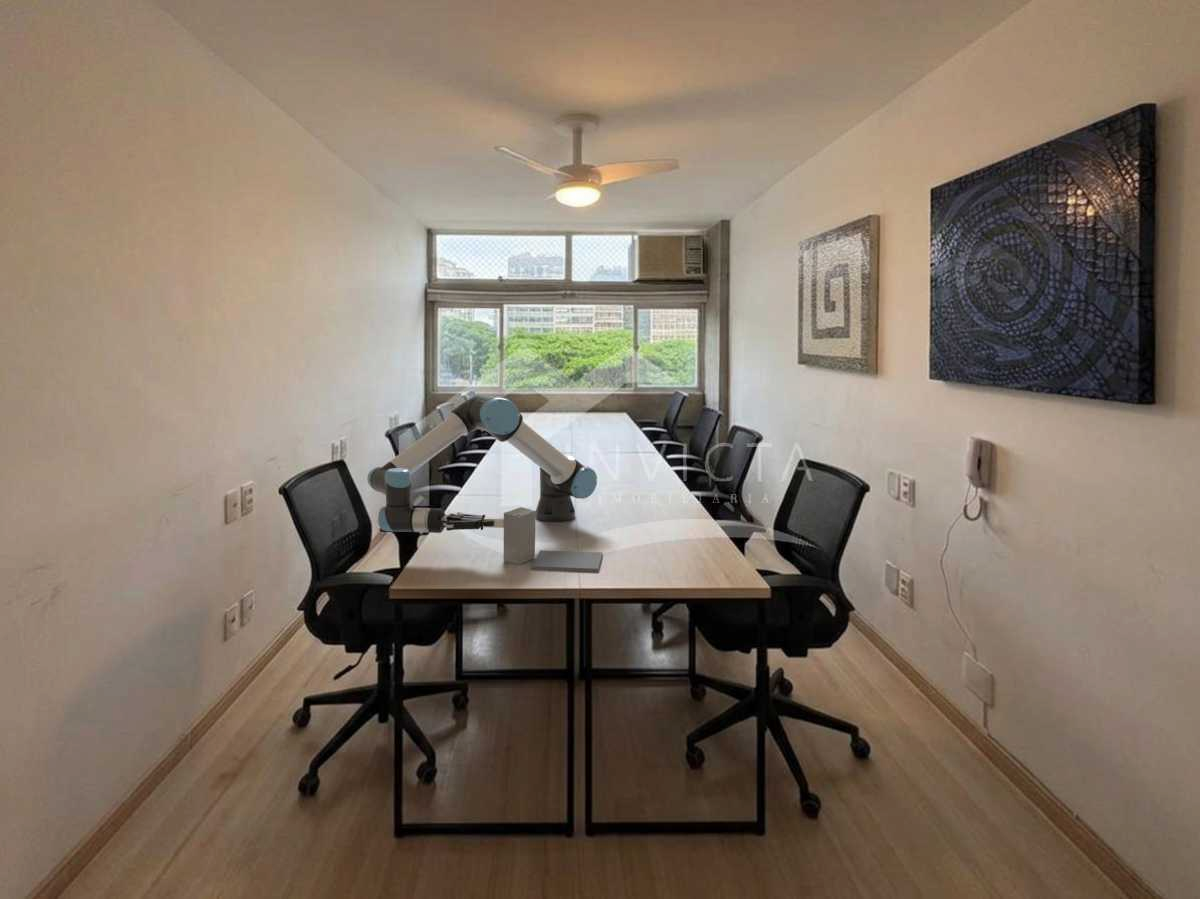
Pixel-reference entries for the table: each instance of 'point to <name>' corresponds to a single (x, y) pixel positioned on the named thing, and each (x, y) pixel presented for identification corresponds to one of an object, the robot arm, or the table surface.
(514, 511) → the skincare box
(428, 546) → the table surface
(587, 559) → the slate mat
